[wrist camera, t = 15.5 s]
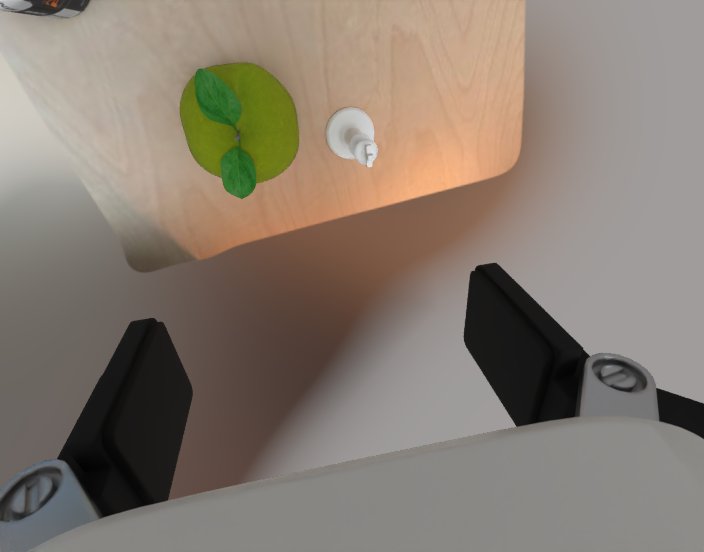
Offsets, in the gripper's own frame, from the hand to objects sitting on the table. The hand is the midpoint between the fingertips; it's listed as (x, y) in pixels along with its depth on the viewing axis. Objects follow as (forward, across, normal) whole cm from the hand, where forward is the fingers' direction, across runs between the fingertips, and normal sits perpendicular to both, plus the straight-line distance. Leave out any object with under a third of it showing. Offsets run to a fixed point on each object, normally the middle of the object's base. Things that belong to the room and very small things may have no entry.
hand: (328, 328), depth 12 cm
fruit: (+31, +4, -2) cm, 31 cm away
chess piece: (+31, -6, +1) cm, 31 cm away
